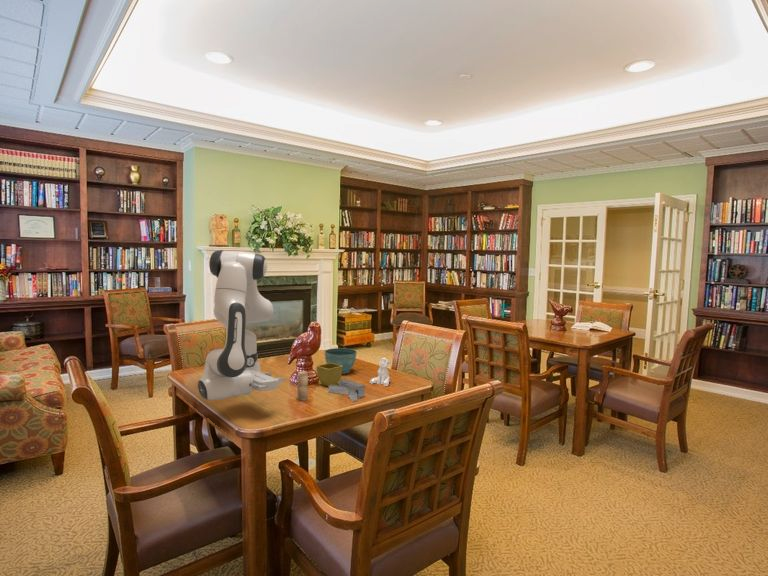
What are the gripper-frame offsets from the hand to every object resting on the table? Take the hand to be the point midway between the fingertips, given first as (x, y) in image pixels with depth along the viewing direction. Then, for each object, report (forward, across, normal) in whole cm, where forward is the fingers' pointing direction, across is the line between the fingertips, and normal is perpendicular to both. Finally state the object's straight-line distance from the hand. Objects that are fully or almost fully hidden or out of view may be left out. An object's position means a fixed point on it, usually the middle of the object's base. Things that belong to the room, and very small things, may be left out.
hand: (276, 377), depth 183 cm
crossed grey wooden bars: (+31, -6, +11) cm, 33 cm away
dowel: (+12, +1, +11) cm, 17 cm away
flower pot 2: (+33, +10, +11) cm, 37 cm away
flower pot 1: (+52, +26, +11) cm, 58 cm away
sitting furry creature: (+54, -2, +11) cm, 56 cm away
